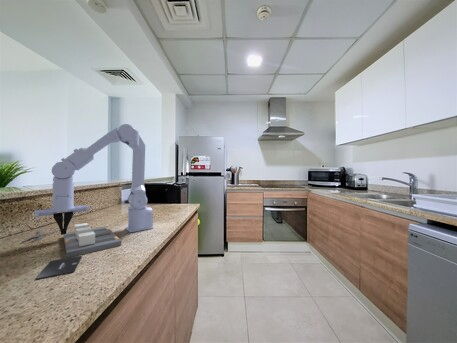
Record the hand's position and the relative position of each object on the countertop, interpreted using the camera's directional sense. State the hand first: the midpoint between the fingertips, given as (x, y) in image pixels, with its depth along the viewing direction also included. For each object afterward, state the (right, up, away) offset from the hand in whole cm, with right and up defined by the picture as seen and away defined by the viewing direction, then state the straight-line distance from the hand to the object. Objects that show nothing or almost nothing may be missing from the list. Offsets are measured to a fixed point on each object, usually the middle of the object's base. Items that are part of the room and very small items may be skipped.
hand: (63, 233), depth 69 cm
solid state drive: (+16, -3, -19) cm, 25 cm away
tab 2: (+9, -1, -2) cm, 9 cm away
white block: (+14, -1, -7) cm, 15 cm away
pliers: (-12, -3, +8) cm, 15 cm away
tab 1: (+4, -1, +4) cm, 5 cm away
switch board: (+10, -2, -1) cm, 10 cm away
